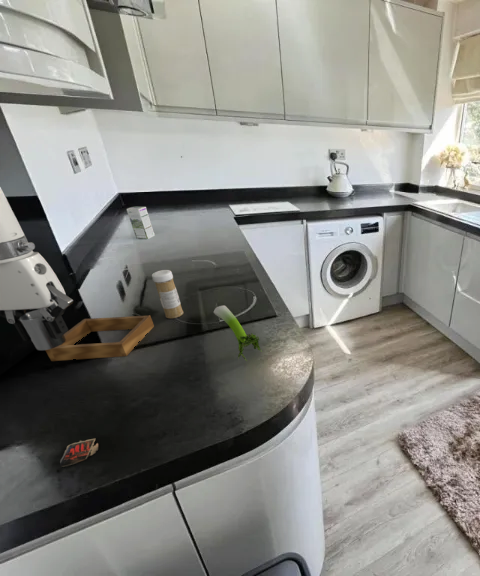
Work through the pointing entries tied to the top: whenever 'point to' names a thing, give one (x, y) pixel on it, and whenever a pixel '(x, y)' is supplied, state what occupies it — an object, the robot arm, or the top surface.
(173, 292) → the sprinkles bottle
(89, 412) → the top surface
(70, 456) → the matchbox
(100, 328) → the wooden frame
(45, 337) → the gray metal cup
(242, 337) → the celery stalk
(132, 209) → the syrup box
